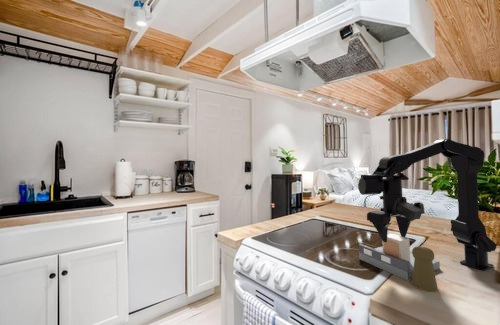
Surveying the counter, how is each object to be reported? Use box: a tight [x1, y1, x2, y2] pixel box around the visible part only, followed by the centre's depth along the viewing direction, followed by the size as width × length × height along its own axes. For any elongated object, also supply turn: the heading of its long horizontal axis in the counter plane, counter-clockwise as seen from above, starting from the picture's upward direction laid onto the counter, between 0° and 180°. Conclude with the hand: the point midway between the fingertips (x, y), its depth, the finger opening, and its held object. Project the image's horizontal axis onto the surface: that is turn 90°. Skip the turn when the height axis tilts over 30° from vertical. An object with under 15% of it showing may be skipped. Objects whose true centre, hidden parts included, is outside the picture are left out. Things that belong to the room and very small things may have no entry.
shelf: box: [358, 243, 441, 281], centre depth 83 cm, size 16×18×6 cm
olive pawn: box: [411, 245, 438, 292], centre depth 68 cm, size 6×6×11 cm
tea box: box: [381, 233, 411, 262], centre depth 80 cm, size 6×5×8 cm
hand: (394, 239), depth 80 cm, fingers open, 9 cm apart
